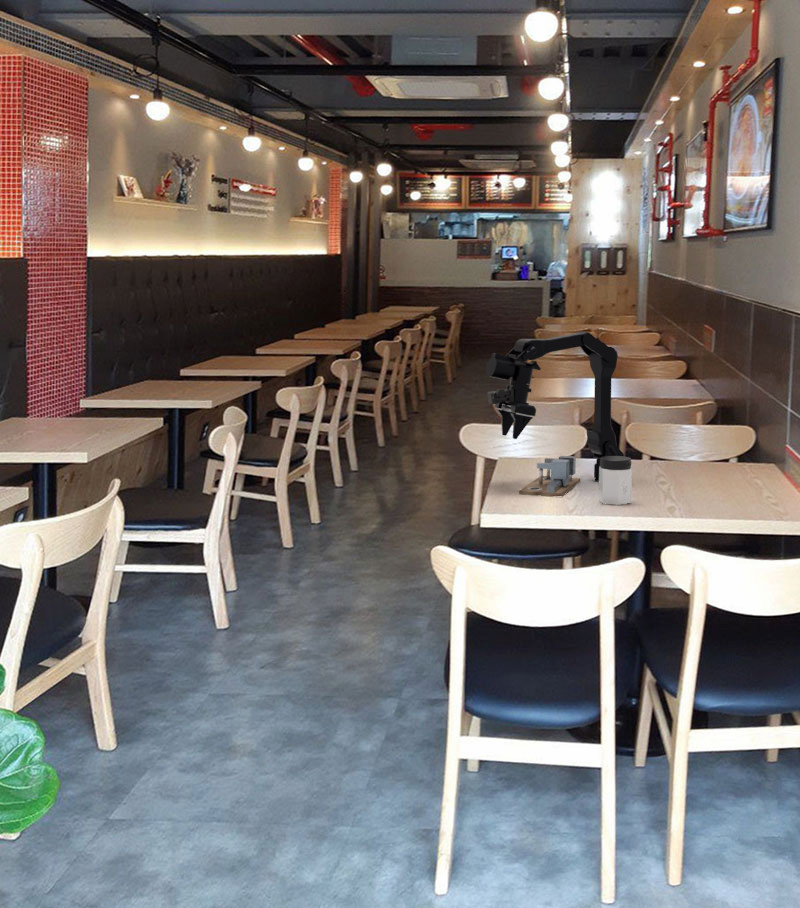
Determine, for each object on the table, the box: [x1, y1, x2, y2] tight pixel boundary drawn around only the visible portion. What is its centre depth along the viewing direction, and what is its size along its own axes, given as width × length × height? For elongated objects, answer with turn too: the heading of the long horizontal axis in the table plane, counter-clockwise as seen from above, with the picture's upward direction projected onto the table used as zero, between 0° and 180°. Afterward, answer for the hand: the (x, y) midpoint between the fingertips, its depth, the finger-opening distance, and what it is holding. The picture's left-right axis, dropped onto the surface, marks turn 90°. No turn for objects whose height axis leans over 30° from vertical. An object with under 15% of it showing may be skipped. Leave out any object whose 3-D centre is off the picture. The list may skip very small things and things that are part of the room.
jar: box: [597, 455, 633, 506], centre depth 312 cm, size 9×8×12 cm
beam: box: [544, 455, 577, 493], centre depth 331 cm, size 9×22×7 cm, turn 159°
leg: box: [536, 458, 569, 487], centre depth 331 cm, size 9×4×7 cm, turn 69°
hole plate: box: [518, 475, 581, 497], centre depth 333 cm, size 12×25×1 cm, turn 159°
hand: (509, 437), depth 331 cm, fingers open, 9 cm apart
